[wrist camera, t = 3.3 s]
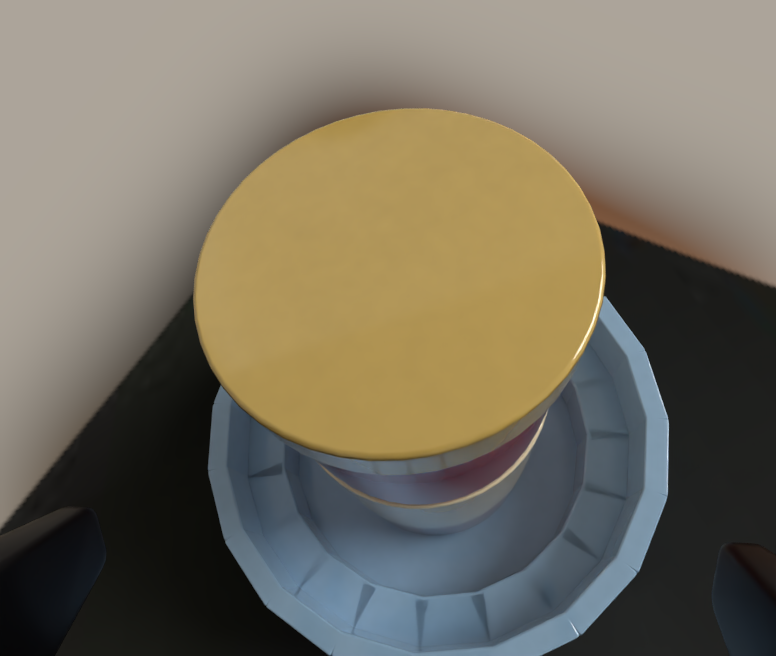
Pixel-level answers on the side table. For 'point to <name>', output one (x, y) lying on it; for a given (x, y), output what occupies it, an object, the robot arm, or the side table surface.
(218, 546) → the side table surface
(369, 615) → the bowl
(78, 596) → the robot arm
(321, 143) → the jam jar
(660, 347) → the side table surface
